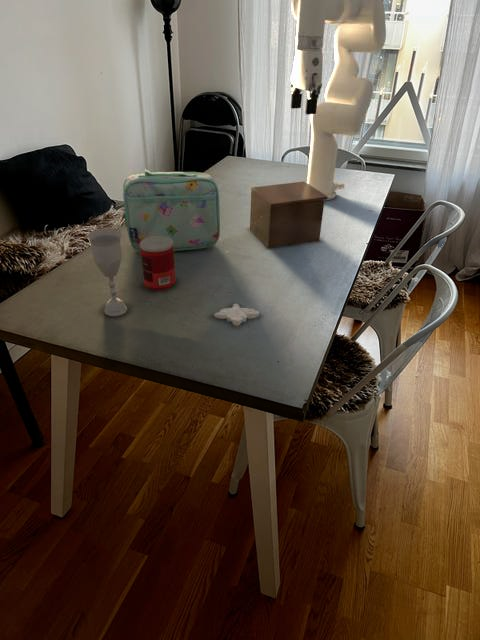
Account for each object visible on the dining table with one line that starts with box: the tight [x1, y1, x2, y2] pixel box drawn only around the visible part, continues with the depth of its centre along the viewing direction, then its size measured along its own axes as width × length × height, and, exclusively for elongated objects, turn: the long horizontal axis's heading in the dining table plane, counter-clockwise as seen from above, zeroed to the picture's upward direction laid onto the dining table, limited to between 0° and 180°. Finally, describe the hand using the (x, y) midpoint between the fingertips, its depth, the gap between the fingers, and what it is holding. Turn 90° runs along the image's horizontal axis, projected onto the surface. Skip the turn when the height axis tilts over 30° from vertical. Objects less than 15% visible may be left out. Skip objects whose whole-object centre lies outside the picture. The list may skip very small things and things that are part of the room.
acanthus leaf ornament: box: [213, 303, 260, 327], centre depth 103 cm, size 8×7×2 cm
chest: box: [249, 190, 325, 249], centre depth 139 cm, size 17×15×12 cm
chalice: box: [87, 228, 128, 317], centre depth 100 cm, size 7×7×18 cm
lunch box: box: [120, 169, 221, 253], centre depth 128 cm, size 27×10×21 cm, turn 102°
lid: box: [250, 181, 328, 207], centre depth 135 cm, size 18×15×1 cm
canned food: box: [139, 236, 177, 291], centre depth 113 cm, size 8×8×11 cm
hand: (303, 111), depth 138 cm, fingers open, 9 cm apart
